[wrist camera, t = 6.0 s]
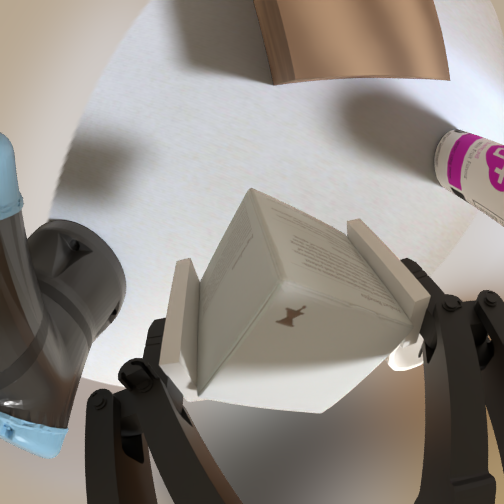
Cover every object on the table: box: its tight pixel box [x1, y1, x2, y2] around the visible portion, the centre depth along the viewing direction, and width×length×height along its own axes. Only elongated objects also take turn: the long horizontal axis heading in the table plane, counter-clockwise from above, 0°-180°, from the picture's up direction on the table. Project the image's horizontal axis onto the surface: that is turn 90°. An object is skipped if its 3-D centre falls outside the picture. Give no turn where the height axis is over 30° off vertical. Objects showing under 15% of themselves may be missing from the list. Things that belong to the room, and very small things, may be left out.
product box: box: [197, 188, 414, 413], centre depth 12 cm, size 6×6×7 cm
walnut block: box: [253, 0, 450, 85], centre depth 15 cm, size 14×14×8 cm
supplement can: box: [435, 129, 504, 227], centre depth 21 cm, size 8×8×15 cm
